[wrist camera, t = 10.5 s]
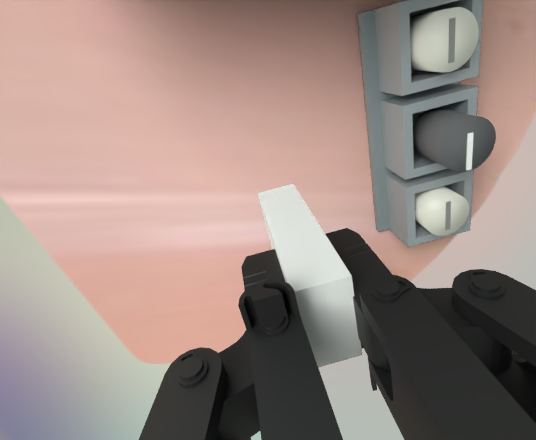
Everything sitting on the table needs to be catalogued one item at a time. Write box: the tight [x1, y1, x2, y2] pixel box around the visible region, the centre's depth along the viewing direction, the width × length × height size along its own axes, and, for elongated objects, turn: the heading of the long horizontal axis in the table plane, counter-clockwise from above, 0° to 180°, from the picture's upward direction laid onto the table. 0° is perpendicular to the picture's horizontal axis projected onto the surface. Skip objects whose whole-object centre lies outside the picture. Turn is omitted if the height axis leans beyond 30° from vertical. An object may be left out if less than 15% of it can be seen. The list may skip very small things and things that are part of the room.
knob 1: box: [410, 7, 479, 72], centre depth 33 cm, size 5×5×6 cm
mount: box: [357, 0, 483, 247], centre depth 39 cm, size 26×11×6 cm, turn 12°
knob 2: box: [415, 186, 469, 236], centre depth 41 cm, size 5×5×6 cm
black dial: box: [413, 108, 496, 172], centre depth 35 cm, size 5×5×6 cm
